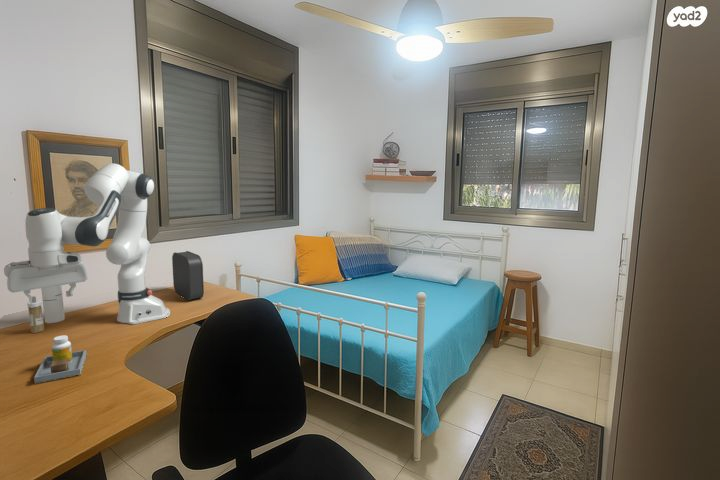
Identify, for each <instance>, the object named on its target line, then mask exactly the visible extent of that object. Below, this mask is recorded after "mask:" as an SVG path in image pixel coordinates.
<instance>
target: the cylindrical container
mask: <svg viewBox="0 0 720 480" xmlns="http://www.w3.org/2000/svg"><path fill="white" fill-rule="evenodd" d="M40 289H41V290H40V291H41V298H42V309H43V314H44V315H43V316H44V322H45V323H46V324H56V323H59V322H62V321H64V320H65V319H66V318H65V317H66V315H65V308H64V298H63V289H62V285H59V286H53V287H46V288H40Z"/></svg>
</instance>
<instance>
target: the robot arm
mask: <svg viewBox="0 0 720 480" xmlns="http://www.w3.org/2000/svg"><path fill="white" fill-rule="evenodd" d="M83 188H84V189H83V190H84V193H85V196H86V197H87V199H88V200H89V201H90V202H91V203H94V205H95V204H96V206H98V209H97V210H96V212H95V214H93V215H91V216H90V215H89V216H84V217H83V216H68V215H65V214H62V213H60V212H58V210H57V209H56V208H51V207H42V208H36V209H33V210H30V211H28V212H27V214H26V217H25V235H26V236H25V237H26V240H27V242H28V248H27V252H28V253H27V254H28V260H23V261H22V260H21V261H18V262H17V261H16V262H15V261H12V262H9V264H7V265H5V266H4V268H3V273H4V275H5V276H6V277H7V279H6V285H7V290H8V291H9V292H10V293H19V292H23V294H24V295H25V296H26V297H27V298H28V300H29V301H28V302H30V303H36V300H37V296H35V295H34V296H33V295H32V296H31V290H37V289H41V288H46V287H53V286H59V285H61V286H63V285H69V286H70V288H69V289H68V290H66V291H65V293H66V294H65V296H66V297H67V298H68V297H73V291H74V290H75V288H76V285H77V283H84V282H87V280H88V278H89V274H88V270H87V266H86V264H85V263H84V262H82V260H83V257H82V255H81V254H78V253H75V252H70V251H65V249H64V246H63V245H72V246H73V245H74V246H87V247H98V246H100V245H102V244H103V243H104V242H105V241H106V239H107V238H108V236H109V231H110V227H111V226H112V223H113V221H114V219H115V217H116V215H117V213H118V217H117V225H116V227H115V232H114V234H113V237H112V240H111V241H110V242H111V243H110V245H109V246H108V247H107V249H106V251H105V257H106V259H107V260H108V262H110V263H111V264H112V265H118V266H119V265H120V268H119V271H118V273H117V287H118V291H117V301H118V314H117V317H116V321H117V322H118V323H122V324H130V325H137V324H142V323H147V322H153V321H157V320H161V319H165V318H166V317H167V318H168V317H170V315H171V310H170V308H168V307H166V306H165V303H164V301H163V300H162V299H160V298H159V297H157V296H154V295H152V294H153V292H152V290H151V288H150V287H146V267H147V266H146V265H147V260H148V255H149V252H150V249H151V242H150V241H149V239H147V238H145V237H143V236H142V234H143V232H144V230H145V228H146V226H147V225H146V224H147V213H148V198H149V197H151V196H152V195H153V193H154V191H155V181H154V179H153V177H152V176H150V175H149V174H146V173H140V172H137V171H133V170H128V169H126V168H125V167H124V166H122V165H121V164H118V163H113V162H111V163H107V164H106V165H103V166H102V167H101V168H99V169H98V170H97V171H95V173H93V174H92V175H91V176H90V177H89V178H88V180H87V181H86V182H85V184H84V187H83Z"/></svg>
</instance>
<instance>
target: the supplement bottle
mask: <svg viewBox="0 0 720 480" xmlns="http://www.w3.org/2000/svg"><path fill="white" fill-rule="evenodd" d="M51 352H52V356H53V361H58V360H63V359H68V364H69V363H71V362H72V352H73V350H72V343H71V341H69V337H68V335H66V334H65V335H58V336H55V337H54V338H53V344H52V345H51Z"/></svg>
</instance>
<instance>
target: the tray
mask: <svg viewBox="0 0 720 480" xmlns="http://www.w3.org/2000/svg"><path fill="white" fill-rule="evenodd" d="M86 359H87V350H86V349H84V350H78V351H72V362H71V363H69V364H68V367H69V370H68V371H63V372H57V373H52V374H51V367H50V366H51V364H52V362H53V355H48V356H45V357H44V358H43V360H42V361H41V363H40V365H39V368H38V369H37V372H36V373H35V375H34V377H33V380H34V384H35V383H39V384H41V383H40V382H44V381H50V380H55V379H60V378H64V377H69V376H74V375H79V374H81V375H82V372H83V369H84V366H83V364H84V365H85V362H84V361H86ZM82 368H83V369H82ZM81 371H82V372H81ZM60 380H61V379H60ZM55 381H56V380H55ZM50 382H51V381H50Z"/></svg>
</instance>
